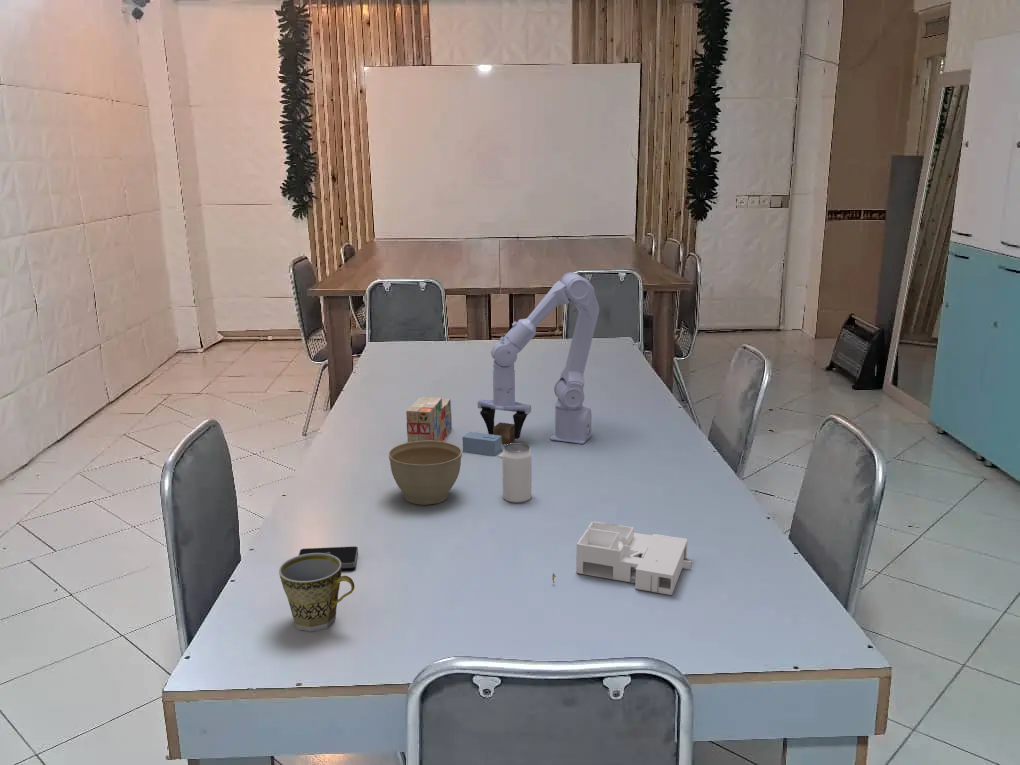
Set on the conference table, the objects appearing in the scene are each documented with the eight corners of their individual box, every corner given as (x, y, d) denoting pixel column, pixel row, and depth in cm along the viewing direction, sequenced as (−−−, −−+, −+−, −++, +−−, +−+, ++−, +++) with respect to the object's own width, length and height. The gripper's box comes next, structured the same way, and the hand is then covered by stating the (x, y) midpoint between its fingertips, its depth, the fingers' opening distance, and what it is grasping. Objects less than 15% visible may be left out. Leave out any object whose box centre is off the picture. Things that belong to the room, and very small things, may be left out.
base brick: (501, 450, 220) (501, 434, 219) (494, 456, 216) (494, 440, 214) (470, 446, 223) (469, 430, 222) (462, 451, 219) (462, 435, 218)
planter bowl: (466, 509, 184) (465, 462, 181) (391, 514, 182) (389, 467, 179) (458, 481, 199) (457, 437, 197) (389, 486, 197) (387, 441, 194)
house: (552, 584, 152) (552, 553, 151) (581, 541, 169) (581, 513, 167) (676, 606, 145) (678, 575, 143) (694, 559, 161) (696, 530, 160)
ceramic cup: (271, 630, 138) (266, 575, 135) (306, 601, 147) (302, 548, 144) (340, 646, 134) (336, 589, 131) (372, 615, 143) (369, 561, 140)
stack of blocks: (430, 429, 237) (429, 387, 234) (452, 430, 236) (451, 388, 232) (407, 456, 217) (405, 409, 213) (431, 457, 215) (429, 411, 212)
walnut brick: (515, 440, 228) (515, 424, 226) (509, 445, 224) (509, 429, 222) (499, 438, 229) (499, 422, 228) (493, 443, 225) (493, 427, 224)
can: (510, 505, 186) (510, 454, 182) (497, 495, 191) (497, 445, 188) (536, 500, 189) (536, 449, 185) (522, 490, 194) (522, 440, 191)
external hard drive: (355, 572, 158) (355, 563, 157) (295, 575, 157) (294, 565, 156) (358, 555, 164) (358, 546, 164) (300, 558, 163) (299, 548, 163)
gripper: (472, 388, 221) (473, 437, 225) (524, 393, 216) (524, 444, 220) (483, 381, 228) (484, 429, 231) (534, 386, 223) (533, 435, 226)
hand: (504, 436), depth 226 cm, fingers open, 7 cm apart
